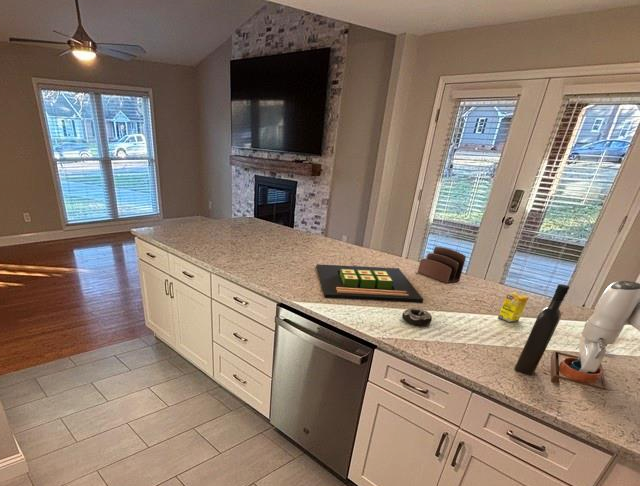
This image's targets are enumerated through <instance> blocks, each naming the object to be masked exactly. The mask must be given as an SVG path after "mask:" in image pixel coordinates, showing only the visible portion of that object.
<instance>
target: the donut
mask: <svg viewBox="0 0 640 486" xmlns="http://www.w3.org/2000/svg"><path fill="white" fill-rule="evenodd" d="M401 317H402V319H403V321H404V322H405V323H407V324H408V325H412V326H416V327H424V326H428V325H430V324H431V323H432V321H433V316H432V314H431V313H430V312H428V310H425V309H422V308H413V307H412V308H411V307H410V308H407V309H405V310H403V312H402V316H401Z"/></svg>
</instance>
